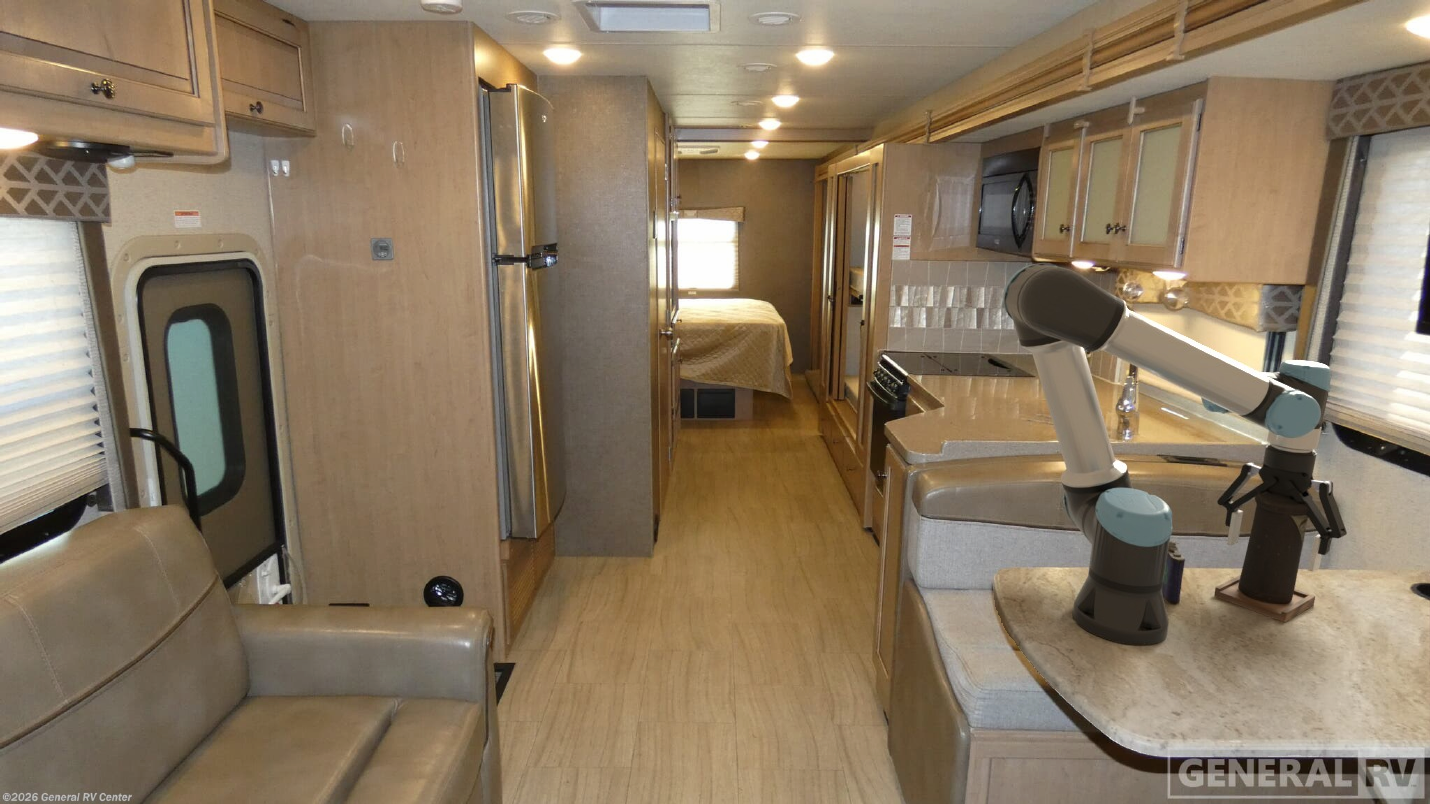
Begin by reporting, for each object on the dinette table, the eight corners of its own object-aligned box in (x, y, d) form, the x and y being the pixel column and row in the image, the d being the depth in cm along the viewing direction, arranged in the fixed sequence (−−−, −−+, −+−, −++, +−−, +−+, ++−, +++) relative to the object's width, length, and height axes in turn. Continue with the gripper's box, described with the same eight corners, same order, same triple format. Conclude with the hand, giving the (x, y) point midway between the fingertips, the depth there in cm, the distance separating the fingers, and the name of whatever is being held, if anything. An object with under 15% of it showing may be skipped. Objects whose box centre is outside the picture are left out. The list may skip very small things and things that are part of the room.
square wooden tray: (1284, 622, 144) (1286, 613, 144) (1214, 595, 154) (1215, 587, 153) (1313, 605, 150) (1315, 596, 150) (1244, 580, 160) (1245, 572, 160)
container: (1302, 608, 147) (1324, 506, 142) (1247, 602, 149) (1268, 501, 143) (1280, 585, 155) (1300, 488, 150) (1228, 580, 157) (1247, 484, 152)
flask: (1146, 582, 159) (1154, 531, 157) (1161, 582, 159) (1169, 532, 156) (1167, 604, 150) (1176, 551, 148) (1184, 605, 150) (1193, 552, 148)
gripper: (1384, 461, 137) (1359, 576, 142) (1227, 428, 157) (1211, 530, 162) (1366, 468, 133) (1342, 586, 138) (1208, 433, 153) (1192, 537, 158)
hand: (1271, 556), depth 150 cm, fingers open, 13 cm apart
